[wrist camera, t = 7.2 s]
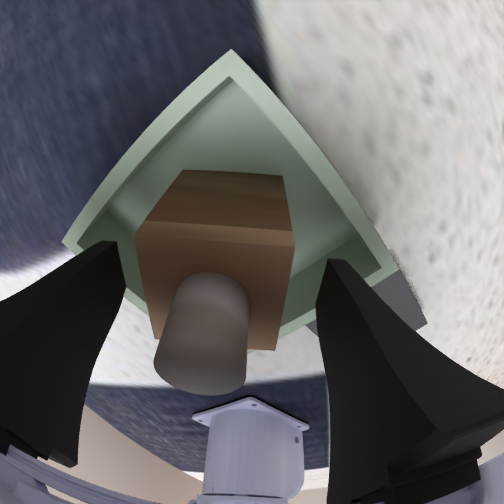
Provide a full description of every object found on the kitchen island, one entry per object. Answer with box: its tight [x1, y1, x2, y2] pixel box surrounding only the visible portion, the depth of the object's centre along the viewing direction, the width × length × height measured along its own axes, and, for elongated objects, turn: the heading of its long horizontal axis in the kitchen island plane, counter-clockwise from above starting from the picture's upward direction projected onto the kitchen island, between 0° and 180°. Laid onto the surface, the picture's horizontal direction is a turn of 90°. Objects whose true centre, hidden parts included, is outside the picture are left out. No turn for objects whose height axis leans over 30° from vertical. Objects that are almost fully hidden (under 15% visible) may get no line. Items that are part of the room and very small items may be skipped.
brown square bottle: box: [134, 170, 295, 395], centre depth 10 cm, size 4×4×8 cm
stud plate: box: [306, 269, 428, 336], centre depth 15 cm, size 6×6×5 cm
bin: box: [62, 49, 399, 354], centre depth 12 cm, size 10×10×4 cm
